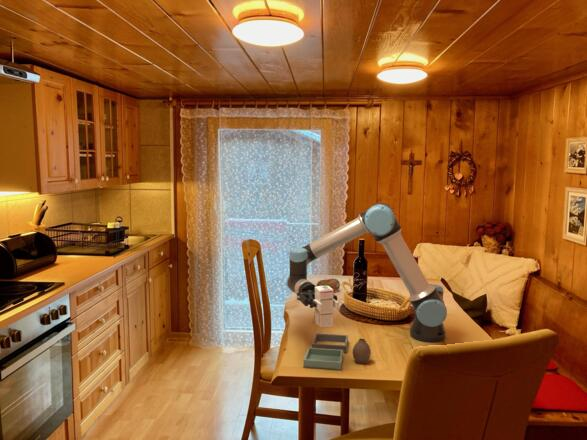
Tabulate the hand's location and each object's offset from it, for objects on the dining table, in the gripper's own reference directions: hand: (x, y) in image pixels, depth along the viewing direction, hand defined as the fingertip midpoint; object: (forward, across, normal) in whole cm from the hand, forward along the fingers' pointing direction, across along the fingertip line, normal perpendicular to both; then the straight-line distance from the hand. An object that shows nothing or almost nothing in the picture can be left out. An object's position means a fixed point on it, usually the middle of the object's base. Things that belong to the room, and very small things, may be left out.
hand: (329, 306), depth 177 cm
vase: (-1, -14, -24) cm, 28 cm away
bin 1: (-18, -9, -24) cm, 31 cm away
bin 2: (-5, 0, -24) cm, 24 cm away
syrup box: (-5, 0, -9) cm, 10 cm away
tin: (-90, -40, -24) cm, 102 cm away
